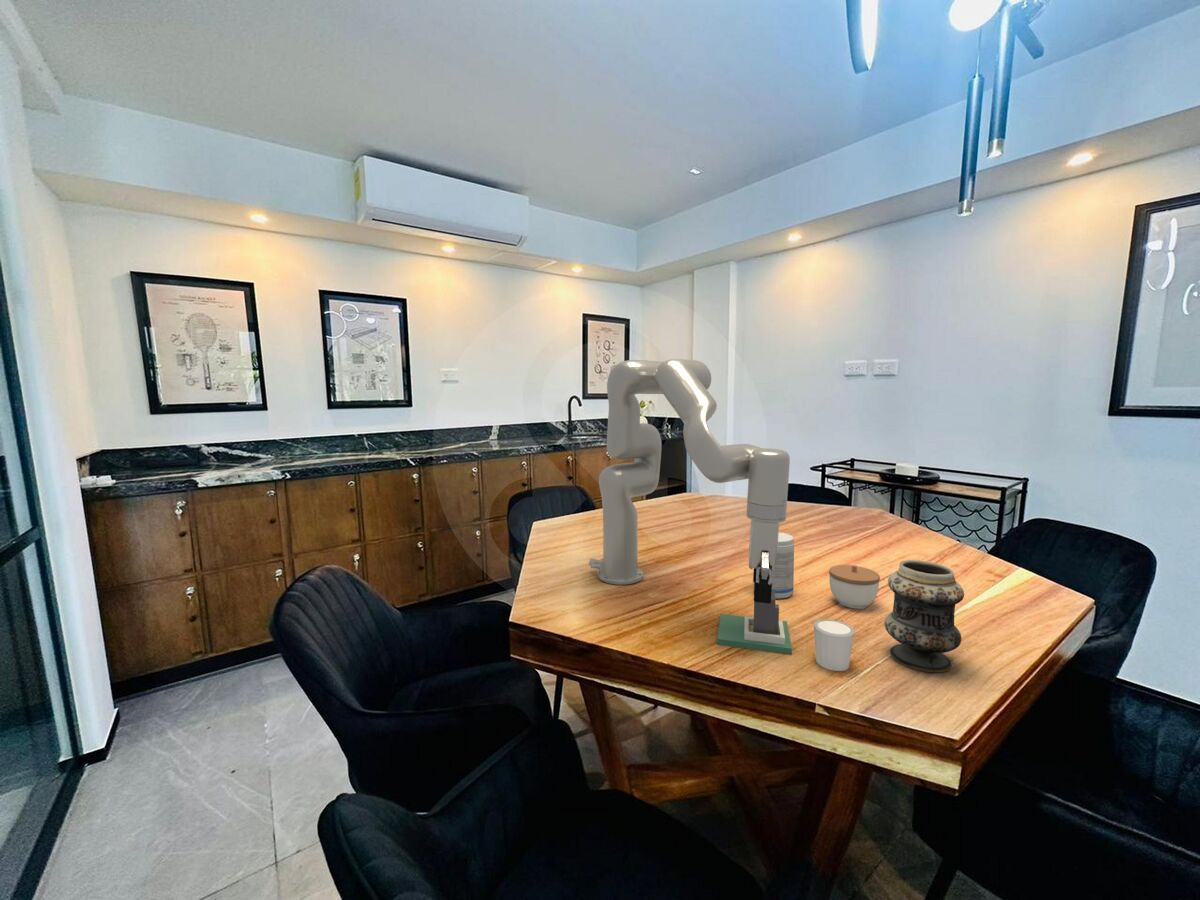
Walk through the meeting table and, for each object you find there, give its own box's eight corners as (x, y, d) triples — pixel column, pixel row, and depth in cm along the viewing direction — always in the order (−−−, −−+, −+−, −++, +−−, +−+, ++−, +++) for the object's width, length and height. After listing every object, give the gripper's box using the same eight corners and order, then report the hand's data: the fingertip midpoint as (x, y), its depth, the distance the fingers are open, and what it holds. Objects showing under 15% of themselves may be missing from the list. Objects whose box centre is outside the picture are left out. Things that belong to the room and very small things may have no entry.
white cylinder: (805, 654, 94) (806, 619, 93) (839, 652, 94) (840, 617, 94) (824, 674, 87) (826, 636, 86) (861, 671, 88) (863, 634, 87)
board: (717, 644, 98) (717, 632, 98) (720, 618, 109) (720, 607, 109) (791, 654, 94) (792, 641, 93) (786, 626, 105) (787, 615, 105)
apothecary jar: (969, 662, 90) (977, 568, 89) (943, 684, 84) (950, 583, 82) (899, 637, 100) (904, 552, 98) (870, 655, 93) (875, 564, 91)
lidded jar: (837, 591, 124) (839, 555, 123) (884, 603, 117) (886, 565, 116) (820, 603, 117) (822, 565, 116) (869, 617, 109) (871, 577, 108)
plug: (753, 635, 99) (754, 597, 98) (753, 627, 102) (754, 590, 101) (778, 639, 97) (779, 600, 96) (777, 630, 101) (778, 593, 100)
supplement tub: (801, 594, 122) (803, 537, 121) (777, 603, 117) (778, 543, 116) (768, 582, 130) (770, 528, 129) (745, 590, 125) (746, 534, 124)
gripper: (746, 499, 107) (742, 574, 109) (746, 520, 90) (741, 607, 92) (783, 502, 104) (778, 578, 107) (789, 524, 88) (783, 613, 90)
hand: (761, 592), depth 100 cm, fingers open, 9 cm apart
